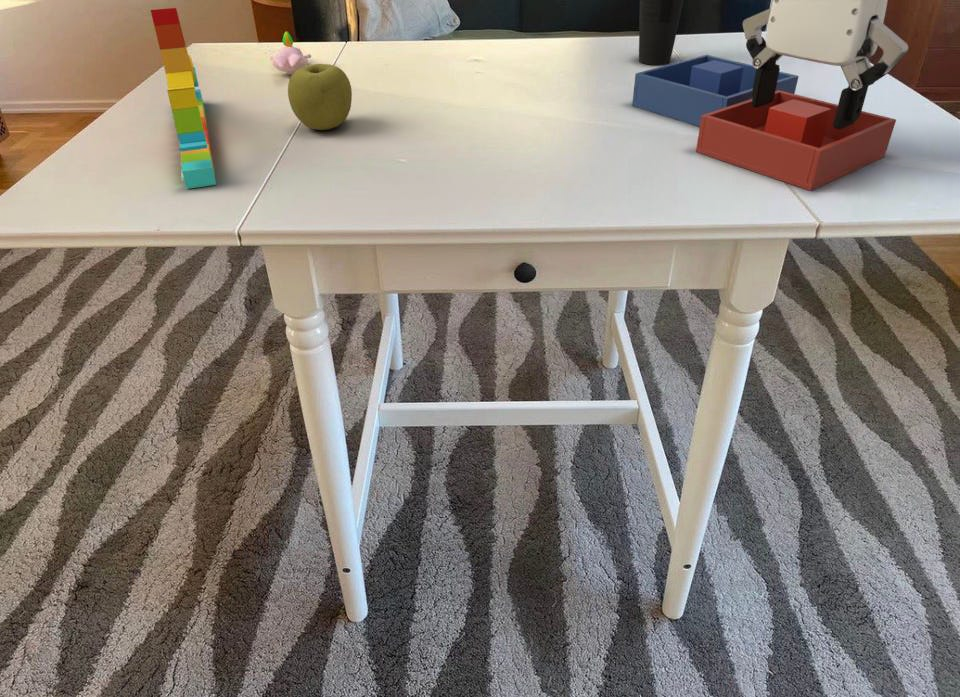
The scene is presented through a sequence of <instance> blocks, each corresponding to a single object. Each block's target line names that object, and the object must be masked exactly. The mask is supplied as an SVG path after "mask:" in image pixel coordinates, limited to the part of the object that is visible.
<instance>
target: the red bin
mask: <svg viewBox="0 0 960 697" xmlns="http://www.w3.org/2000/svg"><path fill="white" fill-rule="evenodd" d="M793 99H795V100H799V101H803V102H807V103H811V104H815V105H819V106H822V107H826V108H830V109H831V111H830V115H829V119H828V123H827V127H826V130H825V134H824V138H823V142H822V146H821V148H817V147H814V146H810V145H807V144H803V143H800V142H797V141H793V140H790V139H787V138H783V137H780V136H777V135H773V134H770V133H766V132H764V131H765V126H766V122H767V117H768V112H769V108H770V107H772V106H775V105H778V104H781V103H784V102H787V101H790V100H793ZM751 104H752V99H750V100H747V101H744V102H741V103H738V104H735V105H732V106H729V107H726V108H723V109H719V110H716V111H713V112H710V113H707V114H704V115H702V116H701V122H700V127H699V130H698V136H697V142H696V143H697V144H696V148H695V152H696V153H699V154H702V155H704V156H708V157H709V158H710V157H711V158H712V159H713V158H714V159H716V160H719V161H722V162H725V163H728V164H731V165H734V166H737V167H740V168H743V169H745V170H749V171H752V172H754V173H758V174H760V175H763V176H766V177H769V178H772V179H775V180H777V181H780V182H784V183H786V184H789V185H792V186H795V187H798V188H801V189H804V190H807V191H810V192H811V191H814V190H816V189H819V188H820V187H822V186H825V185H826V184H828V183H831V182H833V181H835V180H838V179H840V178H841V177H844V176H846V175H848V174H850V173H853V172H855V171H857V170H859V169H861V168H864V167H866V166H868V165H870V164H872V163H875V162H877V161H879V160H880V159H883V158H885V157H886V154H887V150H888V147H889V144H890V140H891V138H892V135H893V132H894V128H895V125H896V123H897V119H896V118H892V117H888V116H884V115H879V114H876V113H872V112H869V111H863V110H862V111H861V115H860V117H859V118H858V119H857V120H856V121H855V123H854V124H852V125H850V126H847V127H845V128H843V129H840V130H839V129H835V128H834V127H833V123H834V119H835V115H836V111H837V108H838V104H836V103H831V102H828V101H825V100H819V99H816V98H812V97H807V96H804V95H800V94H796V93H795V94H792V93H788V92H784V91H780V90H777V91H775V95H774V100H773V102H771V103H768V104H766V105H763V106H760V107H757V108H756V107H752V105H751Z"/></svg>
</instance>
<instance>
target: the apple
mask: <svg viewBox="0 0 960 697" xmlns="http://www.w3.org/2000/svg"><path fill="white" fill-rule="evenodd" d="M352 91H353V90H352V85H351V82H350V79H349V78H348V76H347V74H346V73H345V72H344V71H343V70H342V69H341V68H340V67H338V66H336V65H333V64H327V63H313V64H307V65H306V66H304V67H302V68H299V69H298V70H296V71H295V72H294V73H293V74H292V75H291V76H290V78H289V80H288V84H287V96H288V102H289V105H290V108H291V109H292V112H293V114H294V115H295V116H296V118H297V119H298V120H299V122H301V123H302V125H304V126H305V127H307V128H309V129H312V130H316V131H327V130H328V131H329V130H331V129H334V128H337V127H338V126H340V125H341V124H343V122H345V121H346V120H347V118H348V117H349V114H350V112H351V107H352V100H353V99H352V97H353V92H352Z"/></svg>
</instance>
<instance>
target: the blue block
mask: <svg viewBox="0 0 960 697" xmlns="http://www.w3.org/2000/svg"><path fill="white" fill-rule="evenodd" d="M743 69H744V67H742V66H738V65H734V64H730V63H725V62H721V61H717V60H713V61H709V62H706V63H702V64H698V65H695V66H692V71H691V77H690V84H689V86H690V87H693V88H697V89H701V90H705V91H708V92H712V93H716V94H719V95H723V96H726V97H727V96H730V95H733V94H737V93H739V90H740V85H741V80H742V74H743Z"/></svg>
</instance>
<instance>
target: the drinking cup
mask: <svg viewBox="0 0 960 697" xmlns="http://www.w3.org/2000/svg"><path fill="white" fill-rule="evenodd" d="M683 4H684V0H639V22H638V23H639V24H638V25H639V29H638V30H639V31H638V33H639V34H638V62H639V63H641V64H644V65H648V66H649V65H650V66H665V65H669V63H670V64H671V60H672V57H673V56H672V55H673V50H674V45H675V43H676V42H675V41H676V37H677V32H678V28H679V23H680V19H681V14H682V9H683Z"/></svg>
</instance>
